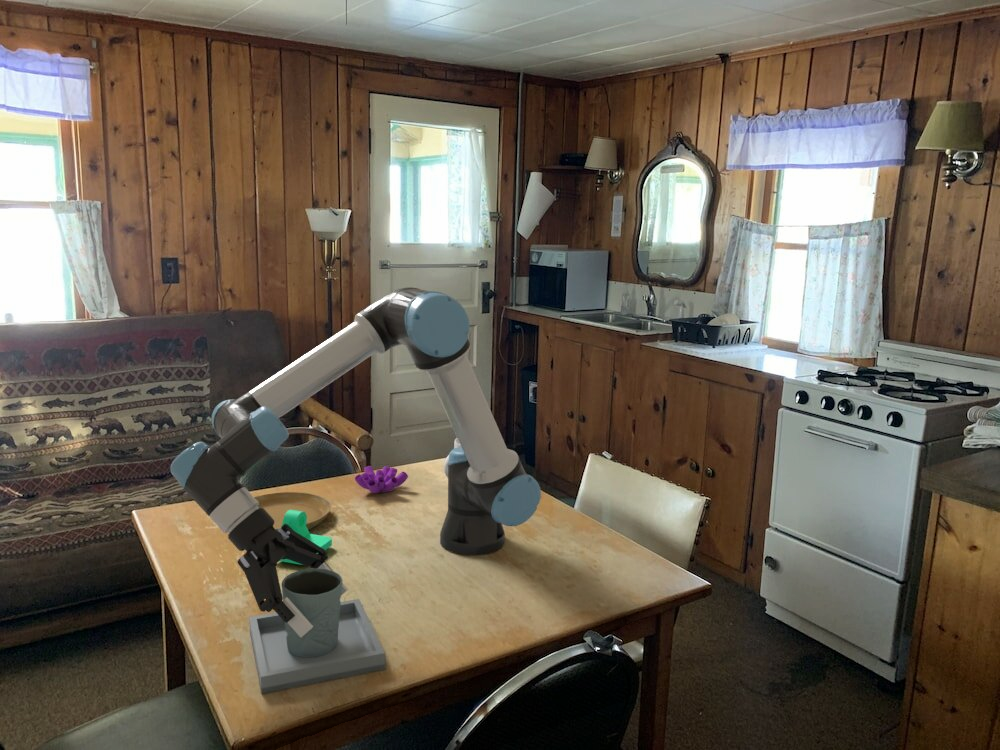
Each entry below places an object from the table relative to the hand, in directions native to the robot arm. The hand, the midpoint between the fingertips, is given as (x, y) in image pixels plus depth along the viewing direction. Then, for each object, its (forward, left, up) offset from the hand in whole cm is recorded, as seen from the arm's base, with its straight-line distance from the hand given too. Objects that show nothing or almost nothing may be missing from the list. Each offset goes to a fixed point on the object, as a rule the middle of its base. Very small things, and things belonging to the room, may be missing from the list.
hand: (325, 612), depth 134 cm
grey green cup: (+2, -1, -7) cm, 7 cm away
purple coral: (-28, -75, -8) cm, 81 cm away
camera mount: (-3, -41, -8) cm, 42 cm away
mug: (-53, -72, -8) cm, 90 cm away
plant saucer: (0, -63, -8) cm, 64 cm away
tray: (+2, -1, -7) cm, 8 cm away
